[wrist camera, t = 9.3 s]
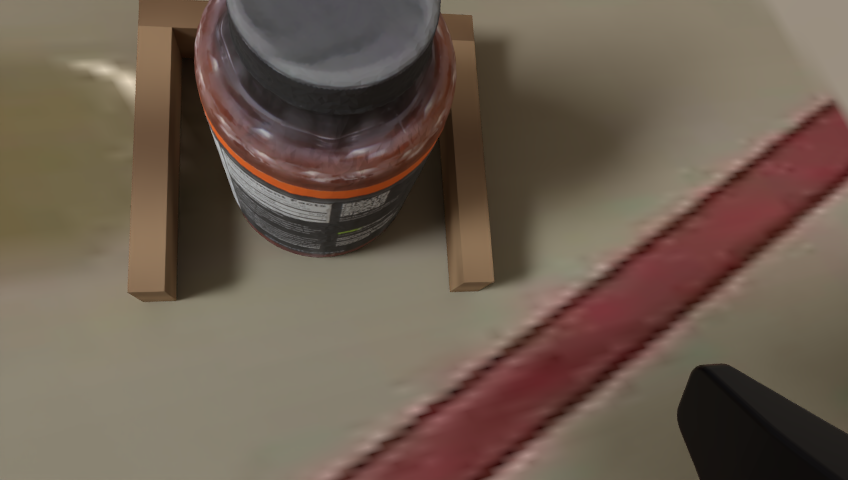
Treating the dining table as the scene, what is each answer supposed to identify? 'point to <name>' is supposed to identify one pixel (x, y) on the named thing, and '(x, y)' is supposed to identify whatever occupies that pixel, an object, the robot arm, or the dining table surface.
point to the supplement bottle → (324, 111)
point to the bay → (160, 155)
